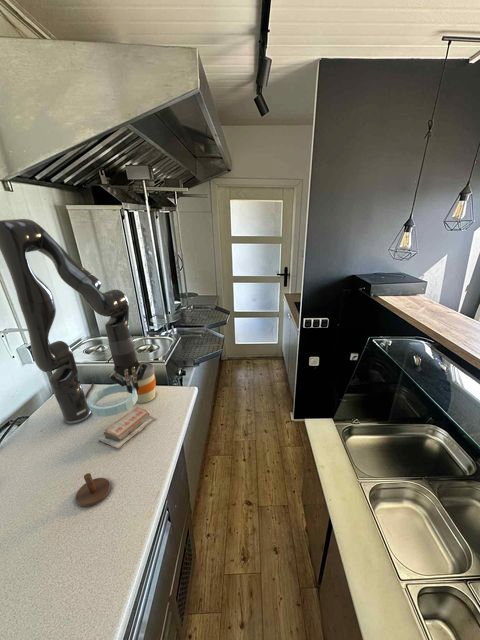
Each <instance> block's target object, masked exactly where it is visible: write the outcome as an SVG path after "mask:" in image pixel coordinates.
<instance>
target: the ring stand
mask: <svg viewBox="0 0 480 640" xmlns="http://www.w3.org/2000/svg"><path fill="white" fill-rule="evenodd" d="M83 479H84V482H85V483H84V484H82V486H81V487H79V489H78V490H77V492H76V494H75V500H76V502H77V504H78V505H79V506H80V507H83V508H88V507H93V506H95V505H97V504H100V502H102V501H103V500H105V499H106V498H107V497H108V495H109V494H110V491H111V484H110V483H111V482H110V481H109V480H108V479H107V478H105V477H97V478H93V475H92V474H91V473H90V472H88V473H86V474H84V475H83Z"/></svg>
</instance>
